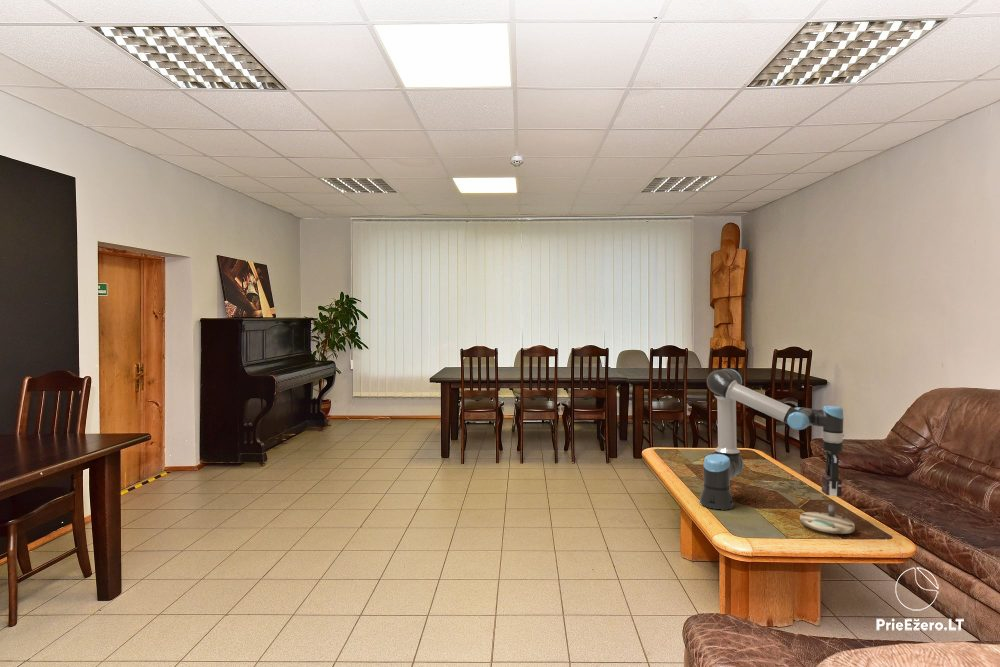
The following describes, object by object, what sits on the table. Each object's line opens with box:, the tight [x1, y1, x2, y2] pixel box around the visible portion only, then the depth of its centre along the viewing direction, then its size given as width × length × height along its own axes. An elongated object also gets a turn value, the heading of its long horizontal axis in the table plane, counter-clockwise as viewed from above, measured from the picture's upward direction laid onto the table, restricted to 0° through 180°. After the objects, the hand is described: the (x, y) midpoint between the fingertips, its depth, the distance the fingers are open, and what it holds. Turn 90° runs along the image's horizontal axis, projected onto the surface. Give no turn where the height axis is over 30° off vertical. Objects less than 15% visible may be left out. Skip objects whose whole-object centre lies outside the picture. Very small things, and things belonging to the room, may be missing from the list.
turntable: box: [799, 504, 855, 535], centre depth 232 cm, size 20×20×6 cm
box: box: [821, 475, 843, 497], centre depth 239 cm, size 6×6×7 cm
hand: (831, 493), depth 239 cm, fingers closed on box, 7 cm apart
